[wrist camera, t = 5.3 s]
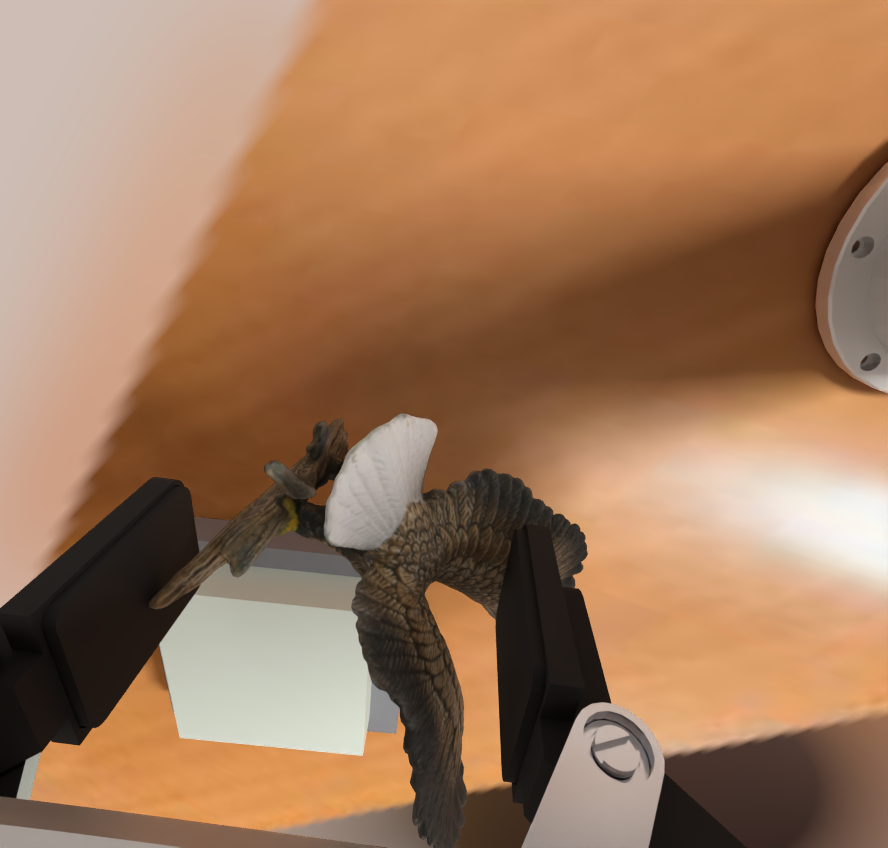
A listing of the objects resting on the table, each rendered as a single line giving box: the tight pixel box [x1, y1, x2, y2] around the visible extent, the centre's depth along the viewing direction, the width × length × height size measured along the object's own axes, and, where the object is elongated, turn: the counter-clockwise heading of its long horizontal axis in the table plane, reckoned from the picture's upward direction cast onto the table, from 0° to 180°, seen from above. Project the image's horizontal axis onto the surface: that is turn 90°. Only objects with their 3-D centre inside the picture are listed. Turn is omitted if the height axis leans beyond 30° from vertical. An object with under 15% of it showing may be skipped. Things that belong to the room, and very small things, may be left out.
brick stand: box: [159, 517, 399, 756], centre depth 30 cm, size 16×16×5 cm
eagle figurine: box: [149, 413, 588, 848], centre depth 11 cm, size 8×7×9 cm
